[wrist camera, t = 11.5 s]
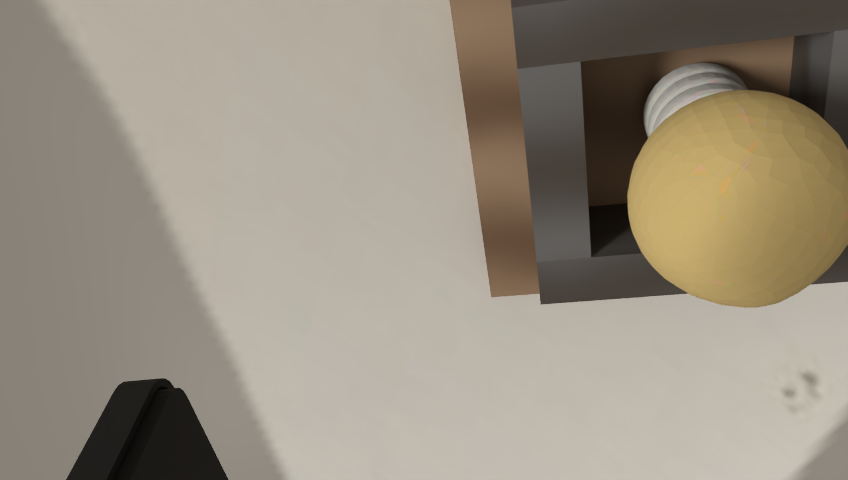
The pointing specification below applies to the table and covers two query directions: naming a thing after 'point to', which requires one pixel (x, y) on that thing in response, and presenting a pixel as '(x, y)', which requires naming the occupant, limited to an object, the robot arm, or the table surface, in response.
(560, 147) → the lamp socket
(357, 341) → the table surface
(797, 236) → the light bulb
